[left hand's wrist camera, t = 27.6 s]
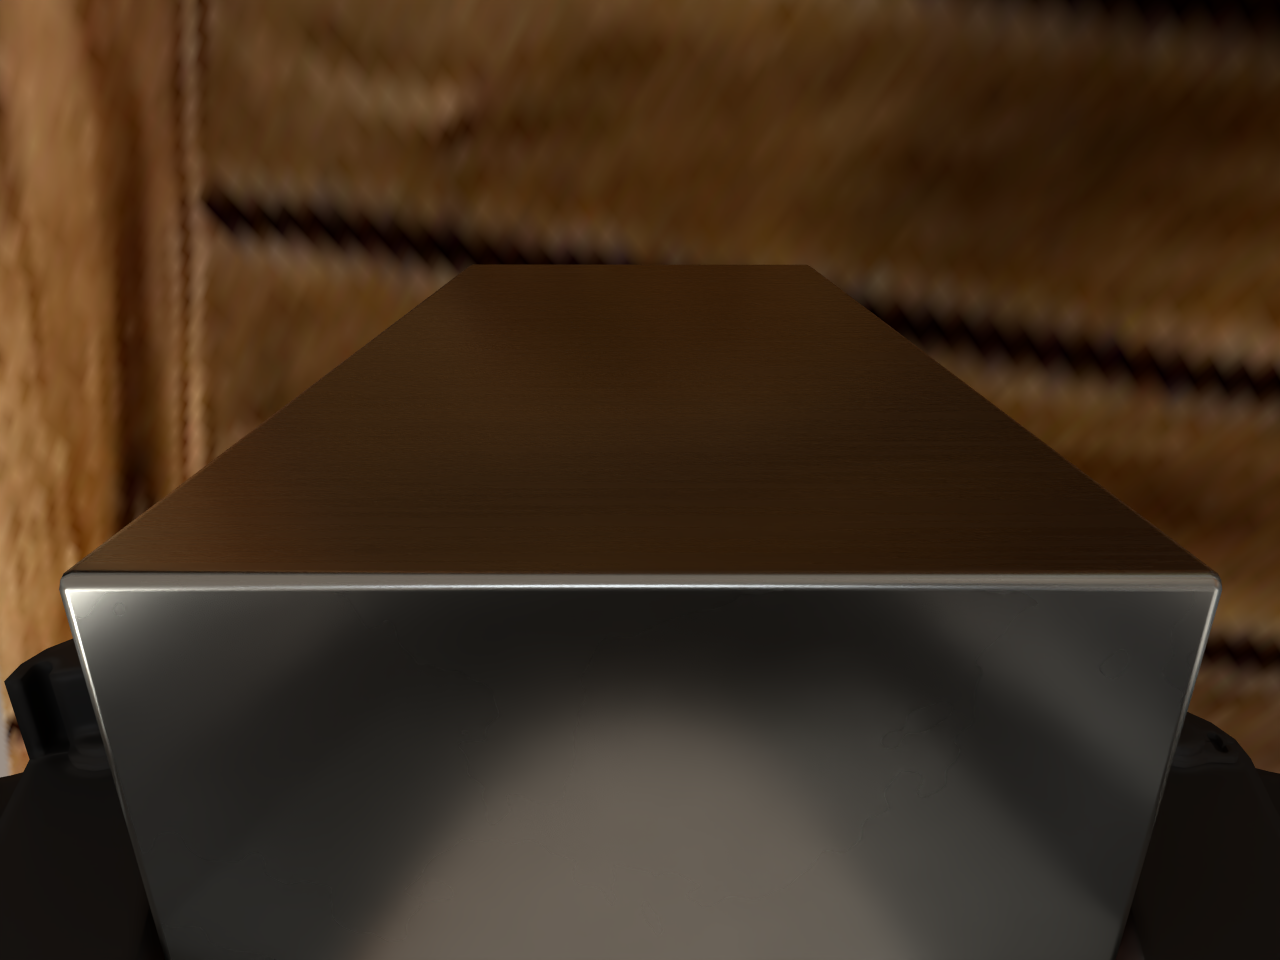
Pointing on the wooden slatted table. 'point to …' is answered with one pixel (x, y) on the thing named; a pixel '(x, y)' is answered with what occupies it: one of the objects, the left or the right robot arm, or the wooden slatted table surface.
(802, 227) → the wooden slatted table surface
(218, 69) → the wooden slatted table surface
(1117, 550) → the block
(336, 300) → the wooden slatted table surface
